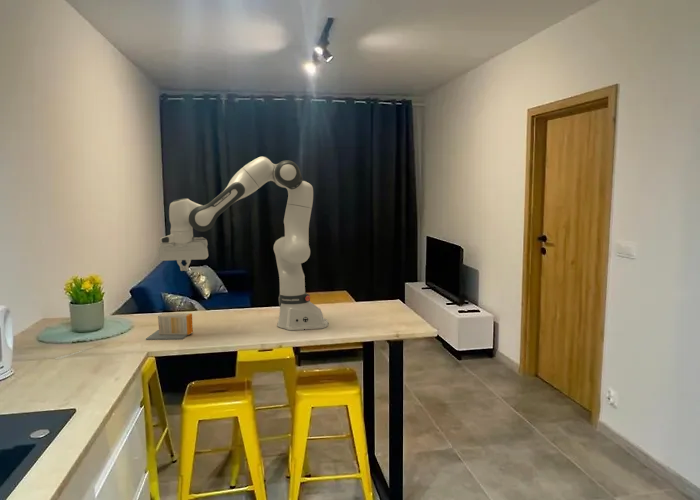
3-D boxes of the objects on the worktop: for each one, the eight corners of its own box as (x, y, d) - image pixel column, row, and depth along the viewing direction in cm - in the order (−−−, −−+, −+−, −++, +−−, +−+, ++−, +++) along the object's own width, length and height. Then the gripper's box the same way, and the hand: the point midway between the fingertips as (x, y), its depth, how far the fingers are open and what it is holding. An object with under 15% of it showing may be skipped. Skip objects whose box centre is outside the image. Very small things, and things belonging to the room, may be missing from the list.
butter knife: (52, 358, 188) (57, 359, 186) (111, 341, 208) (116, 342, 207) (52, 359, 188) (57, 360, 186) (111, 342, 208) (116, 343, 207)
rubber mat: (192, 330, 222) (192, 329, 222) (182, 339, 209) (182, 338, 209) (158, 331, 222) (158, 329, 222) (145, 339, 209) (145, 338, 209)
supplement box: (192, 313, 217) (162, 312, 218) (188, 316, 212) (157, 315, 213) (193, 332, 218) (163, 331, 219) (189, 335, 213) (158, 334, 214)
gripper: (209, 236, 218) (211, 268, 219) (160, 237, 218) (163, 270, 219) (204, 237, 211) (207, 270, 213) (155, 239, 211) (157, 272, 213)
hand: (184, 270), depth 216 cm, fingers closed
